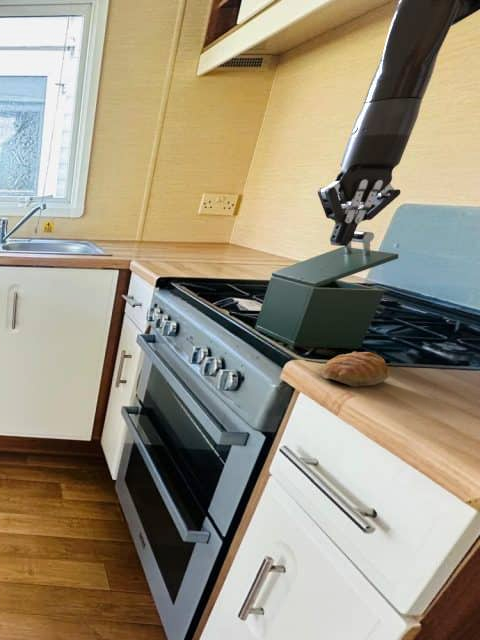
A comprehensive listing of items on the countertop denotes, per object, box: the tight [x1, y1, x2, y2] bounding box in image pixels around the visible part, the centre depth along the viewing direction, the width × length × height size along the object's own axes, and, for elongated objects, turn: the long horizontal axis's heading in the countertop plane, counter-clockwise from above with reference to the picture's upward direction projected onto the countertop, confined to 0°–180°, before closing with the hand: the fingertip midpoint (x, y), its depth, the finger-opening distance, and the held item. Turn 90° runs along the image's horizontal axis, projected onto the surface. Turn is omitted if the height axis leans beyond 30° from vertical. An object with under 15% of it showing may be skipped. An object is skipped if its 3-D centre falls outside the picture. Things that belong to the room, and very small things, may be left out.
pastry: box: [322, 350, 391, 388], centre depth 63 cm, size 9×7×4 cm
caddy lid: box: [271, 230, 399, 288], centre depth 77 cm, size 13×12×5 cm
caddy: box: [254, 276, 386, 350], centre depth 81 cm, size 13×12×11 cm
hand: (338, 245), depth 76 cm, fingers closed
